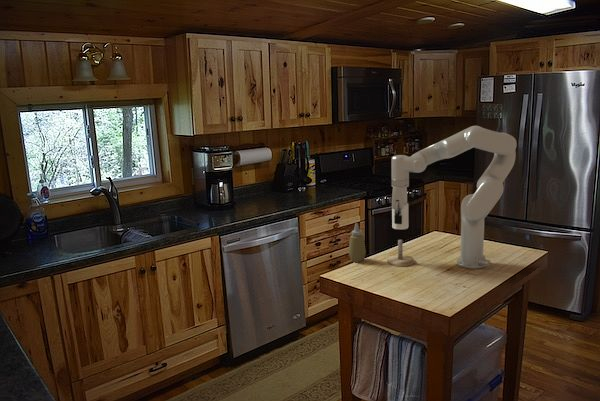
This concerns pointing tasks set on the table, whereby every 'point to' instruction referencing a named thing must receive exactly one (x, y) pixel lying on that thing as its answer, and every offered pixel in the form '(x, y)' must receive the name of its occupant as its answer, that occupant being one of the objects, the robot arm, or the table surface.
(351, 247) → the squeeze bottle
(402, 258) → the roll stand
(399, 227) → the paper roll
